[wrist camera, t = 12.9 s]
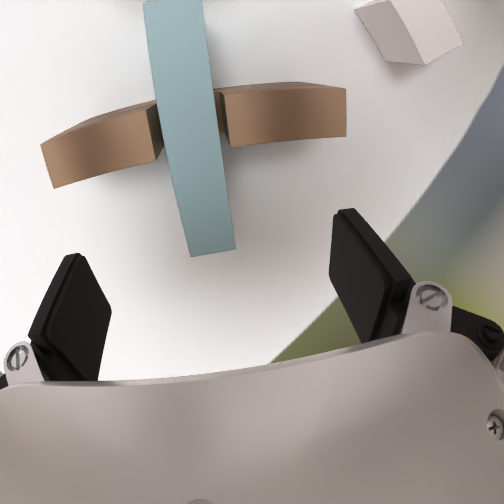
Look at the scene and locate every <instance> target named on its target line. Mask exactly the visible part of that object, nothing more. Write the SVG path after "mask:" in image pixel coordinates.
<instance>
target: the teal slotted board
mask: <svg viewBox="0 0 504 504" xmlns="http://www.w3.org/2000/svg"><path fill="white" fill-rule="evenodd" d="M143 9H144V18H145V27H146V35H147V43H148V50H149V57H150V64H151V71H152V77H153V83H154V90H155V95H156V101H157V107H158V113H159V118H160V123H161V129H162V134H163V139H164V144H165V149H166V154H167V159H168V163H169V168H170V173H171V177H172V182H173V186H174V191H175V195H176V199H177V204H178V208H179V212H180V216H181V220H182V224H183V228H184V232H185V236H186V240H187V244H188V248H189V252H190V255H191V257H195V256H200V255H206V254H212V253H217V252H223V251H229V250H235V249H236V246H235V239H234V233H233V226H232V220H231V213H230V207H229V200H228V193H227V186H226V180H225V173H224V166H223V159H222V152H221V145H220V138H219V130H218V123H217V116H216V109H215V101H214V94H213V86H212V79H211V71H210V63H209V55H208V47H207V39H206V31H205V23H204V15H203V6H202V0H153V1H149V2H144V3H143Z"/></svg>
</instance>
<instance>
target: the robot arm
mask: <svg viewBox="0 0 504 504" xmlns="http://www.w3.org/2000/svg"><path fill="white" fill-rule="evenodd" d="M329 277H330V280H331V282H332V284H333V286H334V288H335V290H336V292H337V294H338V296H339V298H340V300H341V302H342V304H343V306H344V308H345V310H346V312H347V314H348V316H349V318H350V320H351V322H352V324H353V326H354V329H355V330H356V333H357V335H358V337H359V339H360V341H361V343H362V344H359V345H355V346H351V347H347V348H343V349H338V350H334V351H330V352H326V353H322V354H317V355H312V356H308V357H303V358H298V359H294V360H289V361H283V362H279V363H273V364H267V365H261V366H256V367H249V368H243V369H237V370H230V371H223V372H215V373H207V374H199V375H190V376H180V377H169V378H156V379H141V380H120V381H98V375H99V370H100V364H101V359H102V354H103V349H104V345H105V340H106V335H107V331H108V327H109V322H110V318H111V313H112V312H111V307H110V304H109V303H108V301H107V299H106V297H105V295H104V293H103V291H102V290H101V288H100V286H99V284H98V282H97V280H96V278H95V276H94V274H93V272H92V270H91V268H90V266H89V264H88V262H87V260H86V258H85V257H84V256H82V255H81V254H80V253H75V254H70V255H66V256H65V257H64V259H63V261H62V262H61V264H60V266H59V268H58V270H57V272H56V274H55V276H54V278H53V280H52V282H51V284H50V286H49V288H48V290H47V292H46V294H45V296H44V298H43V300H42V303H41V305H40V307H39V309H38V312H37V314H36V316H35V318H34V321H33V323H32V326H31V328H30V331H29V333H28V337H29V338H30V339H31V340H32V341H31V343H30V344H29V343H27V342H23V341H22V342H19V343H17V344H15V345H14V346H13V347H11V348H10V350H9V351H8V353H7V354H6V357H5V359H4V370H5V374H4V375H3V376H1V377H0V504H504V332H503V330H502V329H501V327H500V326H499V325H497V324H496V323H495V322H493V321H491V320H489V319H487V318H484V317H482V316H479V315H476V314H474V313H471V312H468V311H466V310H463V309H460V308H458V307H455V306H452V298H451V296H450V294H449V292H448V291H447V290H446V289H445V288H444V287H443V286H441V285H440V284H437V283H435V282H430V281H422V282H419V283H417V284H416V283H415V282H414V280H413V279H412V277H411V276H410V275H409V273H408V272H407V271H406V269H405V268H404V267H403V266H402V264H401V263H400V262H399V260H398V259H397V258H396V257H395V255H394V254H393V253H392V252H391V251H390V250H389V248H388V247H387V246H386V245H385V243H384V242H383V241H382V240H381V238H380V237H379V236H378V235H377V234H376V232H375V231H374V230H373V229H372V228H371V227H370V225H369V224H368V223H367V222H366V221H365V220H364V218H363V217H362V216H361V215H360V214H359V213H358V212H357V211H356V209H354V208H349V209H341V210H339V211H338V213H337V214H335V215H334V216H333V228H332V242H331V254H330V265H329Z"/></svg>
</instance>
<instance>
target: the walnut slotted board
mask: <svg viewBox="0 0 504 504" xmlns="http://www.w3.org/2000/svg"><path fill="white" fill-rule="evenodd" d="M213 94H214V101H215V109H216V116H217V123H218V130H219V133H222V132H225V135H226V137H227V140H228V142H229V144H230V147H238V146H246V145H253V144H262V143H270V142H280V141H290V140H301V139H315V138H331V137H346V89H344V88H339V87H333V86H326V85H319V84H312V83H304V82H282V83H266V84H254V85H244V86H234V87H226V88H219V89H213ZM40 145H41V149H42V152H43V156H44V159H45V163H46V166H47V169H48V172H49V176H50V179H51V182H52V185H53V188H54V189H55V188H59V187H62V186H65V185H68V184H71V183H74V182H78V181H81V180H84V179H88V178H91V177H95V176H98V175H102V174H105V173H109V172H113V171H117V170H121V169H125V168H129V167H133V166H137V165H141V164H146V163H150V162H155V161H156V160H157V158H158V156H159V154H160V152H161V150H162V148H163V146H164V139H163V134H162V129H161V123H160V118H159V113H158V107H157V101H156V100H154V101H150V102H145V103H141V104H137V105H134V106H130V107H126V108H123V109H119V110H116V111H112V112H109V113H106V114H102V115H99V116H96V117H93V118H90V119H88V120H86V121H84V122H81V123H79V124H77V125H75V126H73V127H71V128H69V129H68V130H66V131H64V132H62V133H60V134H58V135H56V136H54V137H53V138H51V139H49V140H47V141H45V142H44V143H42V144H40Z"/></svg>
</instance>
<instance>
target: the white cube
mask: <svg viewBox="0 0 504 504" xmlns="http://www.w3.org/2000/svg"><path fill="white" fill-rule="evenodd" d="M354 10H355V12H356V13H357V15H358V16H359V18H360V19H361V21H362V22H363V24H364V26H365V27H366V29H367V30H368V32H369V33H370V35H371V37H372V38H373V40H374V42H375V43H376V45H377V47H378V49H379V50H380V52H381V54H382V56H383V57H384V59H385V61H386V62H399V63H410V64H420V65H426V64H428V63H430V62H432V61H433V60H435V59H437V58H439V57H440V56H442V55H444V54H446V53H447V52H449V51H451V50H453V49H455V48H456V47H458V46H460V45H462V44H463V42H462V40H461V37H460V35H459V33H458V30H457V28H456V26H455V24H454V22H453V20H452V18H451V15H450V13H449V11H448V9H447V8H446V6H445V4H444V2H443V0H374V1H372V2H369V3H367V4H365V5H362V6H360V7H358V8H356V9H354Z"/></svg>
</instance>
